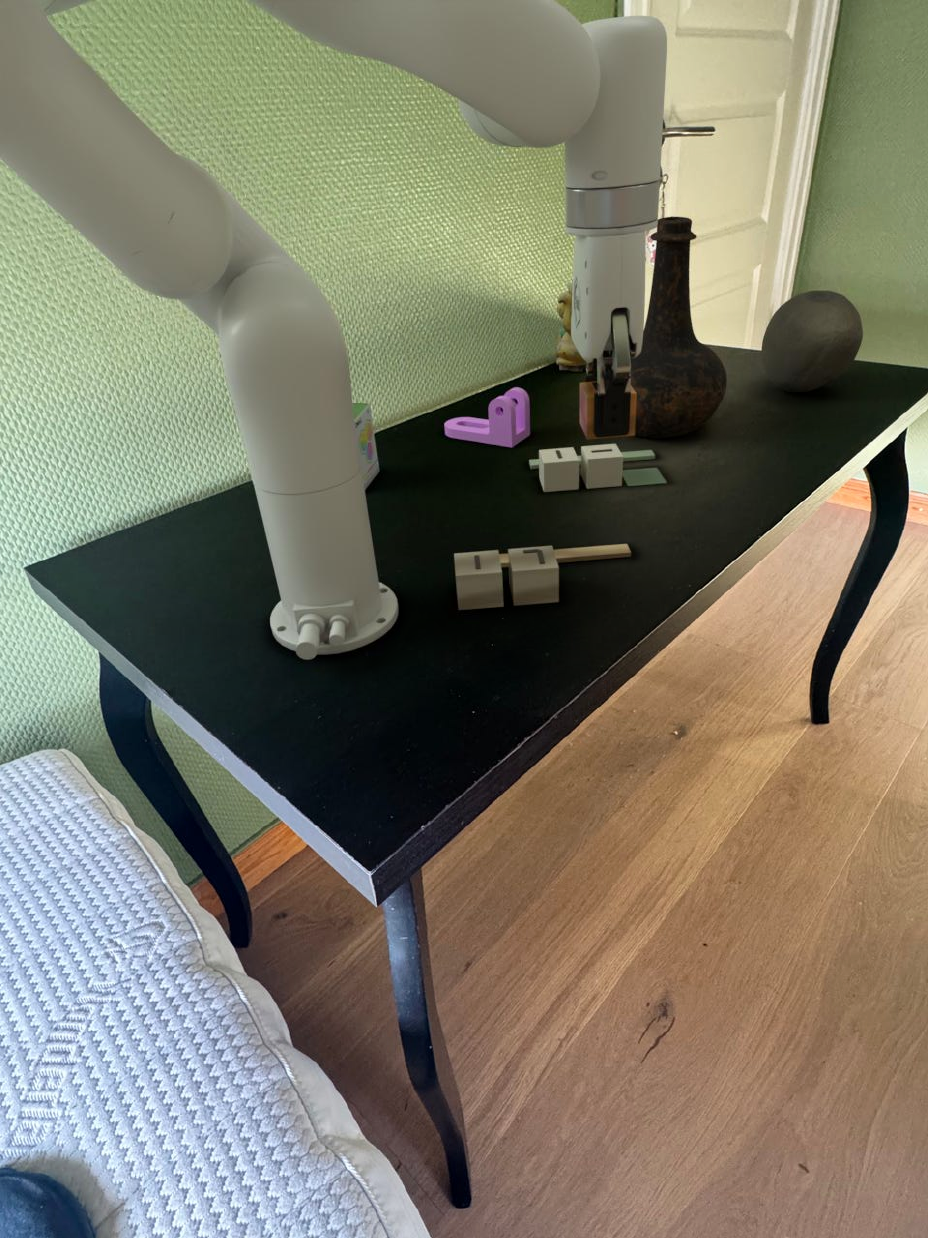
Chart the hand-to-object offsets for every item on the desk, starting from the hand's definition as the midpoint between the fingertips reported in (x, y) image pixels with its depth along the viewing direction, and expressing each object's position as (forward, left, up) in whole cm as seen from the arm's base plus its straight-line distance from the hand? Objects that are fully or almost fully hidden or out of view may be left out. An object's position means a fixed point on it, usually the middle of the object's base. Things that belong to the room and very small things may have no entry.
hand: (606, 423), depth 72 cm
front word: (-1, +6, -16) cm, 17 cm away
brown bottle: (+39, -16, -16) cm, 45 cm away
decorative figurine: (+74, -10, -16) cm, 76 cm away
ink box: (+28, +28, -16) cm, 42 cm away
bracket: (+42, +10, -16) cm, 46 cm away
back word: (+24, -4, -16) cm, 29 cm away
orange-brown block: (0, 0, -1) cm, 1 cm away
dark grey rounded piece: (+50, -42, -16) cm, 67 cm away
